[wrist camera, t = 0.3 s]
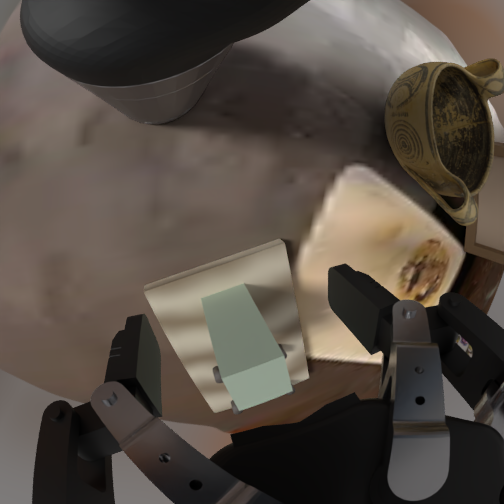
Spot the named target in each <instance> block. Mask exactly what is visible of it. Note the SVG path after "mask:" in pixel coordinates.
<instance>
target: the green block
mask: <svg viewBox="0 0 504 504" xmlns="http://www.w3.org/2000/svg"><path fill="white" fill-rule="evenodd" d="M201 302H202V306H203V310H204V314H205V318H206V322H207V326H208V330H209V334H210V338H211V342H212V346H213V350H214V353H215V357H216V361H217V364H218V368H219V372H220V375H221V379H222V380H223V382H224V384H225V386H226V388H227V390H228V392H229V394H230V395H231V397H232V399H233V401H234V403H235V404H236V406H237V408H238V410H239V411H241V410H244V409H247V408H250V407H252V406H255V405H258V404H261V403H263V402H266V401H269V400H271V399H274V398H276V397H279V396H281V395H284V394H286V393H289V392H291V391H293V390H292V385H291V381H290V377H289V373H288V369H287V365H286V361H285V357H284V354H283V353H282V351H281V349H280V347H279V346H278V344H277V342H276V340H275V338H274V337H273V335H272V333H271V331H270V330H269V328H268V326H267V324H266V322H265V321H264V319H263V317H262V315H261V314H260V312H259V310H258V308H257V306H256V305H255V303H254V301H253V299H252V297H251V296H250V294H249V292H248V290H247V288H246V286H245V285H244V283H243V284H240V285H238V286H235V287H232V288H229V289H226V290H223V291H221V292H218V293H215V294H212V295H209V296H206V297H203V298H201Z"/></svg>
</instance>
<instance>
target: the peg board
mask: <svg viewBox="0 0 504 504" xmlns="http://www.w3.org/2000/svg"><path fill="white" fill-rule="evenodd" d="M243 283H244V285H245V286H246V288H247V290H248V292H249V294H250V296H251V297H252V299H253V301H254V303H255V305H256V306H257V308H258V310H259V312H260V314H261V315H262V317H263V319H264V321H265V322H266V324H267V326H268V328H269V330H270V331H271V333H272V335H273V337H274V338H275V340H276V342H277V344H278V346H279V347H280V349H281V351H282V353H283V354H284V357H285V361H286V365H287V369H288V373H289V377H290V381H291V385H292V390H293V391H291V392H289V393H287V395H291V394H293V393H294V392H295V389H294V387H293V385H294V384H296V383H299V382H301V381H303V380H306V379H308V378H309V374H308V367H307V361H306V355H305V349H304V343H303V337H302V331H301V326H300V320H299V315H298V309H297V304H296V298H295V293H294V287H293V282H292V277H291V272H290V267H289V262H288V257H287V252H286V247H285V243H284V242H283V241H282V240H281V239H277V240H274V241H271V242H268V243H265V244H262V245H259V246H257V247H254V248H251V249H248V250H245V251H242V252H239V253H236V254H233V255H230V256H228V257H225V258H222V259H219V260H216V261H213V262H210V263H207V264H204V265H201V266H199V267H196V268H193V269H190V270H187V271H184V272H181V273H178V274H176V275H173V276H170V277H167V278H164V279H161V280H158V281H155V282H153V283H150V284H147V285H145V287H144V293H145V295H146V297H147V299H148V301H149V303H150V305H151V307H152V309H153V311H154V313H155V315H156V317H157V319H158V321H159V323H160V325H161V326H162V328H163V330H164V332H165V334H166V336H167V337H168V339H169V341H170V343H171V344H172V346H173V348H174V350H175V351H176V353H177V355H178V357H179V358H180V360H181V362H182V363H183V365H184V367H185V368H186V370H187V372H188V373H189V375H190V376H191V378H192V380H193V381H194V383H195V384H196V386H197V387H198V389H199V391H200V392H201V394H202V395H203V397H204V398H205V400H206V401H207V403H208V404H209V406H210V407H211V409H212V410H213V411H214V413H217V412H220V411H223V410H227V409H230V408H232V409H233V412H234V414H240V413H242V412H243V410H241V411H239V410H238V408H237V406H236V404H235V403H234V401H233V399H232V397H231V395H230V394H229V392H228V390H227V388H226V386H225V384H224V382H223V380H222V379H221V375H220V372H219V368H218V364H217V361H216V357H215V353H214V350H213V346H212V342H211V338H210V334H209V330H208V326H207V322H206V318H205V314H204V310H203V306H202V302H201V298H203V297H206V296H209V295H212V294H215V293H218V292H221V291H223V290H226V289H229V288H232V287H235V286H238V285H240V284H243Z"/></svg>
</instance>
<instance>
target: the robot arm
mask: <svg viewBox="0 0 504 504" xmlns="http://www.w3.org/2000/svg"><path fill="white" fill-rule="evenodd" d="M308 1H310V0H22V4H21V11H20V22H21V28H22V32H23V35H24V37H25V40H26V42H27V44H28V46H29V47H30V48H31V50H32V51H33V52H34V53H35V54H36V55H37V56H38V57H39V58H40V59H41V60H42V61H43V62H45V63H46V64H48V65H49V66H50V67H52V68H53V69H55V70H57V71H58V72H60V73H62V74H63V75H65V76H66V77H68V78H69V79H71V80H72V81H74V82H76V83H77V84H79V85H80V86H82V87H83V88H85V89H87V90H88V91H90V92H92V93H93V94H95V95H96V96H98V97H99V98H101V99H102V100H104V101H105V102H107V103H108V104H110V105H111V106H113V107H114V108H116V109H117V110H118V111H120V112H121V113H123V114H125V115H126V116H127V117H129V118H130V119H132V120H135V121H137V122H139V123H144V124H162V123H167V122H170V121H173V120H175V119H178V118H180V117H181V116H183V115H184V114H186V113H187V112H188V111H189V110H190V109H191V108H192V107H193V106H194V105H195V104H196V103H197V101H198V100H199V98H200V97H201V95H202V93H203V92H204V90H205V89H206V87H207V85H208V83H209V82H210V80H211V78H212V77H213V75H214V74H215V72H216V70H217V69H218V67H219V65H220V64H221V62H222V61H223V59H224V58H225V56H226V55H227V53H228V52H229V50H230V48H231V47H232V46H233V44H234V42H237V41H240V40H243V39H245V38H248V37H251V36H253V35H256V34H258V33H260V32H262V31H264V30H266V29H268V28H270V27H272V26H274V25H275V24H277V23H279V22H280V21H282V20H283V19H284V18H286V17H287V16H289V15H290V14H292V13H293V12H294V11H296V10H297V9H298V8H300V7H301V6H303V5H304V4H305V3H307V2H308ZM328 301H329V304H330V307H331V309H332V310H333V312H334V313H335V314H336V315H337V316H338V317H339V318H340V320H341V321H342V322H343V323H344V324H345V325H346V326H347V328H348V329H349V330H350V331H351V332H352V333H353V334H354V336H355V337H356V338H357V339H358V340H359V341H360V343H361V344H362V345H363V346H364V347H365V348H366V350H367V351H368V352H369V353H370V354H371V355H373V354H375V353H377V352H379V351H382V353H383V356H382V364H381V376H380V386H379V394H378V398H367V399H359V398H358V397H357V395H356V394H355V392H354V393H352V394H350V395H348V396H345V397H343V398H341V399H338V400H336V401H334V402H331V403H329V404H326V405H325V406H324V407H322V408H321V409H319V410H318V411H316V412H315V413H313V414H312V415H310V416H309V417H307V418H305V419H304V420H302V421H300V422H298V423H291V424H282V425H271V426H262V427H258V428H254V429H251V430H247V431H243V432H239V433H235V434H231V439H232V442H233V443H231V444H229V445H227V446H225V447H224V448H222V449H220V450H219V451H218V452H217V453H216V454H214V455H213V456H212V457H211V458H210V459H208V458H206V457H205V456H204V455H202V454H201V453H200V452H198V451H197V450H196V449H195V448H193V447H192V446H191V445H190V444H188V443H187V442H186V441H185V440H183V439H182V438H181V437H180V436H179V435H177V434H176V433H175V432H174V431H173V430H172V429H170V428H169V427H168V426H167V425H166V424H165V423H163V421H161V420H160V419H159V418H158V417H162V404H161V355H160V349H159V345H158V342H157V340H156V337H155V335H154V333H153V331H152V328H151V326H150V323H149V321H148V319H147V317H146V315H145V314H140V315H135V316H130V317H127V320H126V325H125V330H121V331H119V332H118V333H117V334H116V336H115V337H114V339H113V341H112V346H111V350H110V355H109V357H110V358H109V360H108V365H107V370H106V375H105V381H104V384H102V385H100V386H98V387H97V388H96V389H95V390H94V392H93V393H92V396H91V401H90V402H88V403H85V404H82V405H80V406H77V407H75V408H72V407H71V406H70V404H69V403H68V402H66V401H62V400H59V401H55V402H53V403H51V404H50V405H49V406H48V407H47V408H46V409H45V411H44V413H43V416H42V421H41V426H40V432H39V438H38V444H37V452H36V459H35V468H34V478H33V496H32V497H33V498H32V504H115V500H114V490H113V477H112V459H111V458H112V457H111V456H112V454H115V453H118V452H120V451H124V453H125V454H126V455H127V456H128V457H129V458H130V460H131V461H132V462H133V463H134V464H135V465H136V466H137V467H138V468H139V470H140V471H141V472H142V473H143V474H144V475H145V476H146V477H147V478H148V479H149V480H150V481H151V482H152V483H153V484H154V485H155V486H156V487H157V488H158V489H159V490H160V491H161V492H162V493H163V494H164V495H165V496H166V497H167V498H169V499H170V500H171V501H172V502H173V503H174V504H504V329H502V327H500V326H499V325H498V324H497V323H496V322H494V321H493V320H492V319H491V318H490V317H489V316H487V315H486V314H485V313H484V312H482V311H481V310H480V309H479V308H477V307H476V306H475V305H474V304H472V303H471V302H470V301H469V300H467V299H466V298H465V297H463V296H462V295H460V294H457V293H445V294H443V295H442V296H441V297H440V300H439V304H438V305H437V306H431V307H426V308H425V307H424V306H423V305H422V304H420V303H419V302H417V301H413V300H401V301H400V300H399V299H398V298H396V297H395V296H394V295H393V294H392V293H390V292H389V291H388V290H387V289H385V288H384V287H383V286H381V285H380V284H379V283H378V282H375V280H374V279H373V278H371V277H370V276H369V275H367V274H364V273H362V272H359V271H355V270H353V269H352V268H351V267H350V266H348V265H347V264H342V265H338V266H335V267H331V268H330V269H329V271H328ZM458 335H460V336H461V337H462V338H463V339H464V340H465V341H466V342H468V343H469V344H470V346H471V347H472V351H473V354H472V357H470V356H469V355H468V354H467V353H466V352H465V351H464V350H463V349H462V348H461V347H460V346H459V345H458V344H457V343H456V340H457V338H458ZM442 374H443V375H444V376H445V377H446V378H447V379H448V381H449V382H450V383H451V384H452V385H453V386H454V388H455V389H456V390H457V391H458V392H459V393H460V395H461V396H462V397H463V398H464V399H465V401H466V402H467V403H468V404H469V405H470V407H471V408H472V409H473V410H474V416H475V420H474V421H469V420H464V419H459V418H455V417H451V416H446V415H445V407H444V390H443V379H442Z"/></svg>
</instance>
